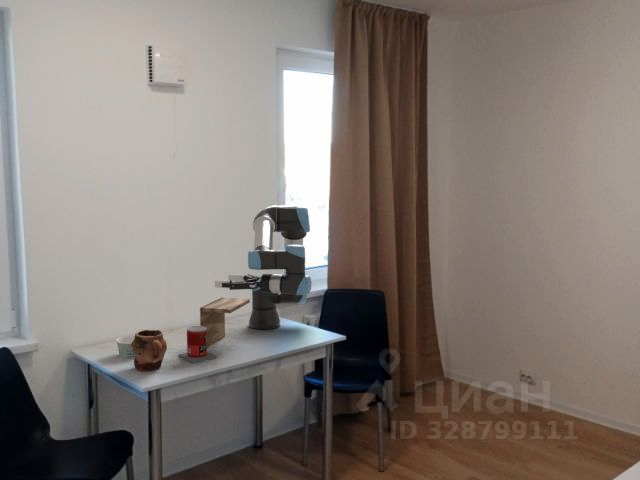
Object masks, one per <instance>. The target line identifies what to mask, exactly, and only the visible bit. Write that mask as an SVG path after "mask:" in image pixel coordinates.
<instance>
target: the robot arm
mask: <svg viewBox="0 0 640 480" xmlns="http://www.w3.org/2000/svg"><path fill="white" fill-rule="evenodd" d="M252 229H253V231H254V241H253V249H252V250H249V251H248V253H247V267H248V269H250V270H257V271H261V270H265V271H266V270H268V271H269V270H283V274H281V273H279V274H278V273H277V274H276V273H273V274H272V273H263V274H262V275H260V276H259V275H255V274H250V273H249V274H248V273H247V274H245V275H244V274H228V280H214V288H216V289H217V288H218V289H229V290H230V291H233V290H235V291H236V290H239V291H240V290H251V293H252V295H251V298H252V299H251V300H252V301H251V302H252V303H251V305H252V308H251V314H250V316H249V320H248V327H249V328H251V329H255V330H271V329H277V328H279V327H280V326H281V319H280V316H279V314H278V311H277V310H278V309H277V305H295V306H296V305H304V304H305V303H306V301H307V299H308V295H309V294H310V293H311V290H312V278H311V276H309V275H306V249H305V247H304V238H306V236H307V233H309V232H311V226H310V217H309V209H308V207H306V206H305V205H271V206H268V207H266V208H263V209H262V210H260V211H259V212H258V213H257V215H256V216H255V217H254V219H253V222H252ZM274 233H280V235H281V236H282V238H283V241H284V243H283V246H284V247H283V249H273V247H274V245H273V243H274V240H273V238H274V236H273V235H274Z"/></svg>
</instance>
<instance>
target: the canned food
mask: <svg viewBox="0 0 640 480" xmlns="http://www.w3.org/2000/svg"><path fill="white" fill-rule="evenodd" d="M186 351H187V352H186V353H187V354H188V356H190V357H203V356H206V355H207V352H208V348H207V328H206V327H204V326H200V325H194V326H192V325H191V326H189V327H187V328H186Z"/></svg>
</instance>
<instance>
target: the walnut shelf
mask: <svg viewBox="0 0 640 480" xmlns="http://www.w3.org/2000/svg"><path fill="white" fill-rule="evenodd" d="M250 301H251V300H250V298H234V297H220V298H217V299H215V300H214V301H211V302H209V303H207V304H205V305H202V306H200V307H199V316H200V317H199V318H200V320H199V323H200V324H199V326H204V327H206V328H207V349H209V348H210V347H211V346H213V345H215V344H217V343H218V342H219V341H221V340H222V339H224V338H226V314H231V313H234V312H235V311H237V310H239V309H241V308H242V307H245V306H246V305H248V304H249V303H250Z"/></svg>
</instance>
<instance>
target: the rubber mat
mask: <svg viewBox="0 0 640 480" xmlns="http://www.w3.org/2000/svg"><path fill="white" fill-rule="evenodd" d="M177 356H178V358H180V359H182V360H183V361H187V362H188V363H191V364H194V363H201V362H203V361H208V360H213V359H217V356H218V355H217V354H214V353H212V352H209V351H207V355H206V356H203V357H190V356H188V354H187V352H183V353H180V354H178V355H177Z"/></svg>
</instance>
